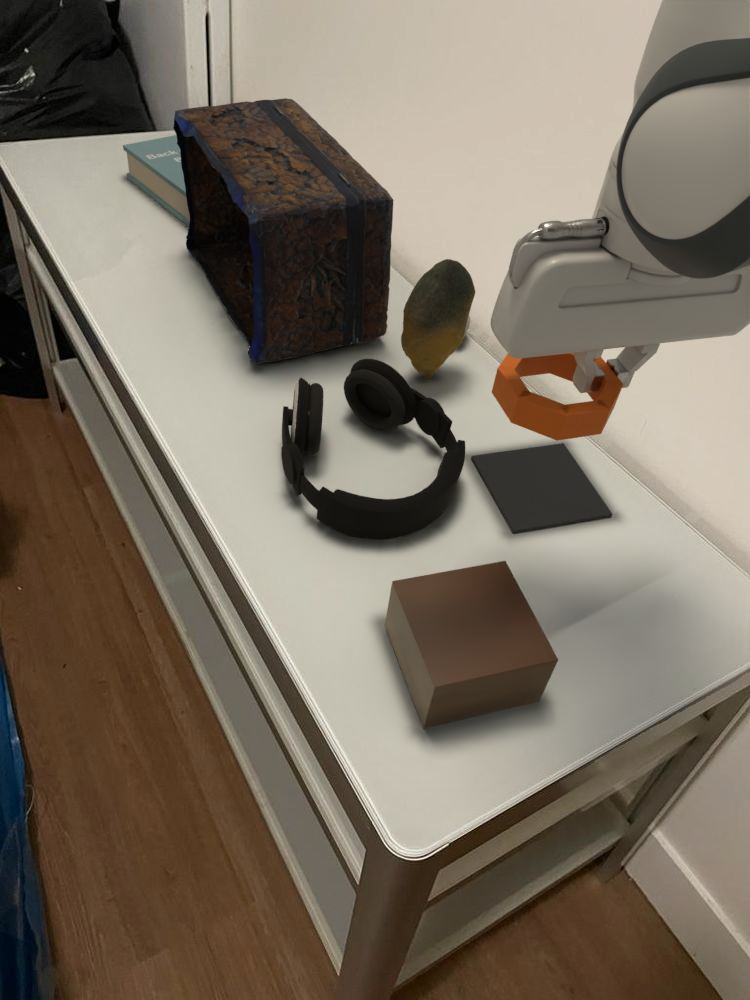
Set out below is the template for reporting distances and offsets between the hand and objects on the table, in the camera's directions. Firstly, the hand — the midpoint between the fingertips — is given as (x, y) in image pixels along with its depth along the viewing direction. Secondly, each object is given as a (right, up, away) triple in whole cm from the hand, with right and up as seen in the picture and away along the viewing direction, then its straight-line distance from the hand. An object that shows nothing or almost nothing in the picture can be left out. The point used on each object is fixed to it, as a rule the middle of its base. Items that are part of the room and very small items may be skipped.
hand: (599, 385), depth 61 cm
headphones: (-18, -6, +20) cm, 28 cm away
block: (-10, -22, +4) cm, 25 cm away
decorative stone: (-11, +6, +32) cm, 35 cm away
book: (-43, +38, +60) cm, 83 cm away
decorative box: (-30, +18, +42) cm, 54 cm away
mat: (0, -7, +20) cm, 22 cm away
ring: (-4, -1, 0) cm, 4 cm away
